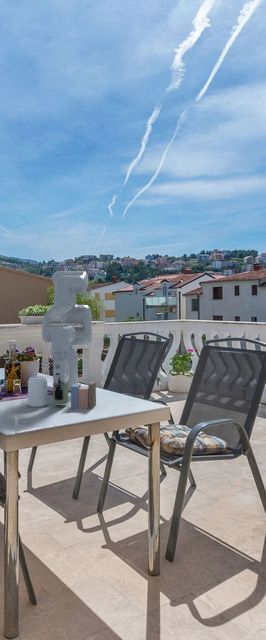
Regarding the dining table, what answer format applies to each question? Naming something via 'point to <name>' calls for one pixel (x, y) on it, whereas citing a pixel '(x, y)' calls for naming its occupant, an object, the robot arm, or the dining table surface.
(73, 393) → the blue book
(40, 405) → the beverage can
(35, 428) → the dining table surface
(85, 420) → the dining table surface
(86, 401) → the terracotta book
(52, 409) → the dining table surface
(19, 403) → the dining table surface
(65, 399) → the olive book
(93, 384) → the walnut bookend
